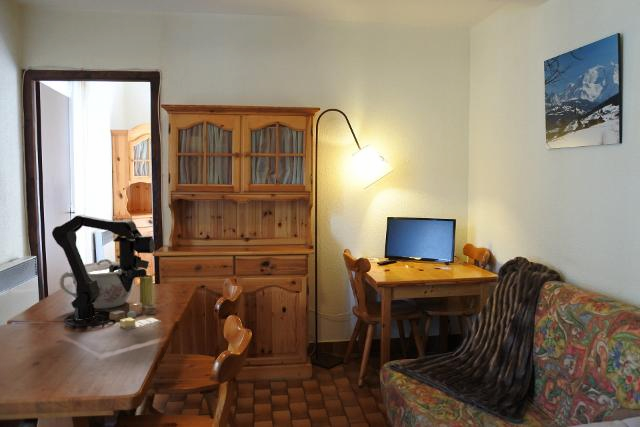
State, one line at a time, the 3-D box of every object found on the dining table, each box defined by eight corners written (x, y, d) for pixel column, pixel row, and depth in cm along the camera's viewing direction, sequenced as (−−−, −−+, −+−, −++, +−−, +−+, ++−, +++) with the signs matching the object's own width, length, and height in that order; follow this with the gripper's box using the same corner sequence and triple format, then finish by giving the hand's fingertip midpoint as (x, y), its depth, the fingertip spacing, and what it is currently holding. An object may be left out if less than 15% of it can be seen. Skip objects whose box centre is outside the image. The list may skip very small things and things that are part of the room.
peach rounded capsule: (133, 318, 202) (133, 306, 201) (127, 315, 205) (126, 304, 205) (144, 315, 206) (144, 303, 205) (138, 313, 209) (138, 301, 208)
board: (127, 332, 184) (127, 329, 184) (118, 328, 189) (118, 325, 189) (161, 324, 195) (161, 320, 195) (151, 320, 199) (151, 317, 199)
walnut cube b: (145, 317, 203) (145, 308, 203) (143, 315, 207) (143, 305, 206) (155, 316, 205) (155, 307, 205) (153, 314, 209) (153, 304, 208)
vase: (149, 310, 213) (148, 277, 212) (136, 309, 214) (135, 277, 213) (156, 306, 219) (156, 274, 218) (144, 305, 220) (143, 274, 219)
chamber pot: (148, 298, 233) (147, 254, 231) (119, 315, 206) (118, 266, 204) (92, 296, 236) (90, 253, 234) (55, 312, 209) (54, 263, 207)
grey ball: (129, 321, 197) (129, 312, 197) (125, 319, 200) (125, 311, 199) (138, 319, 200) (137, 311, 200) (133, 317, 202) (133, 309, 202)
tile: (125, 328, 185) (125, 322, 185) (120, 326, 188) (119, 319, 187) (135, 326, 188) (135, 319, 188) (130, 323, 191) (129, 317, 190)
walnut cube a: (116, 323, 195) (116, 314, 194) (109, 322, 196) (109, 312, 196) (124, 321, 198) (124, 311, 198) (117, 319, 200) (117, 310, 200)
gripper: (158, 253, 196) (159, 292, 197) (133, 247, 208) (134, 284, 209) (132, 256, 187) (132, 297, 188) (107, 251, 199) (108, 289, 200)
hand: (127, 291), depth 197 cm, fingers closed
